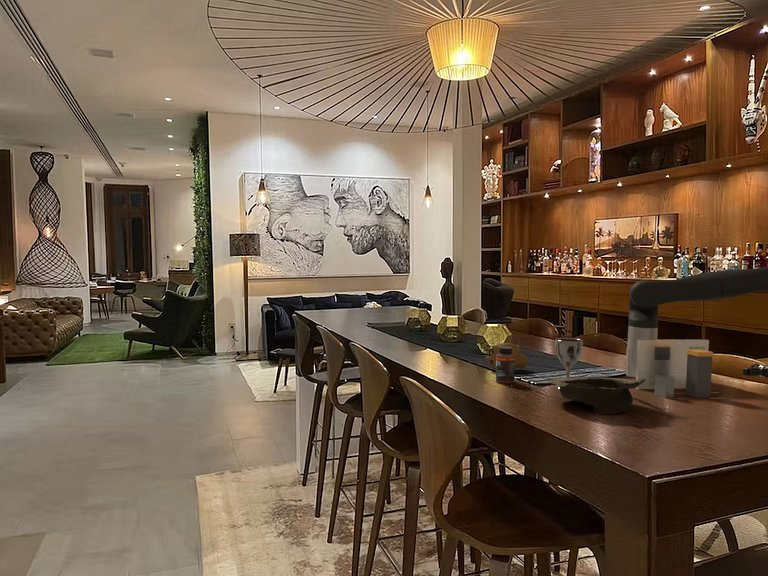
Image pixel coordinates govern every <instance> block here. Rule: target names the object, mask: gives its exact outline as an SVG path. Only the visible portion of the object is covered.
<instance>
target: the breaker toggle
mask: <svg viewBox="0 0 768 576" xmlns="http://www.w3.org/2000/svg"><path fill="white" fill-rule="evenodd" d="M713 357H714V352H713V351H709V350H708V351H706V350H687V374H686V389H685V395H688V396H690V397H693V398H711V394H712V393H711V392H712V371H713V370H712V369H713Z"/></svg>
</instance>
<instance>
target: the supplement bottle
mask: <svg viewBox="0 0 768 576" xmlns="http://www.w3.org/2000/svg"><path fill="white" fill-rule="evenodd" d="M499 351H500V352H499V353H498V354H497V355H496V369H495V382H496V383H498V384H504V385H510V384H514V383H515V379H516V378H515V373H516V368H515V355H514V354H512V347H499Z"/></svg>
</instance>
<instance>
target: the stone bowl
mask: <svg viewBox="0 0 768 576" xmlns="http://www.w3.org/2000/svg"><path fill="white" fill-rule="evenodd" d="M645 381H646V379H642V380H636V379H635V380H633V379H630V378H629V379H627V378H626V379H624V378H618V377H617V378H616V377H603V376H602V377H599V376H593V377H592V376H580V377H577V376H575V377H569V378H566V377H560V378H554V379H548V380H547V382H548V383H550V384H553V385H556V386H557V385H560V389H559V393H560V394H561V396H562V397H563V398H564V399H567V400H570V401H573V402H577V403H584V404H585V405H589V406H592V410H593V412H594V413H595V414H597V415H612V414H618V413H620V412H627V411H629V409H630V408H631V405H632V403H633V402H634V398H633V394H632V393H631V390H630V389H636V388H637V387H638V386H639V385H641V384H642V383H643V382H645Z"/></svg>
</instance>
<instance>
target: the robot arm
mask: <svg viewBox="0 0 768 576" xmlns="http://www.w3.org/2000/svg"><path fill="white" fill-rule="evenodd" d="M763 291H768V265H767V266H762V267H757V268H756V267H755V268H746V269H730V270H729V269H728V270H718V271H710V272H702V273H697V274H693V275H689V276H686V277H685V276H684V277H682V278H681V277H680V278H676V279H669V280H646V279H645V280H644V279H643V280H641V279H640V280H639V281H636V282H635V283H633V284H632V286H631V288H630V290H629V297H628V298H629V300H628V301H629V302H628V329H627V346H626V352H625V353H626V354H625V355H626V358H625V375H626V377H631V378H635V379H636V364H637V342H638V340H658V332H659V331H658V327H659V325H658V324H659V305H664V304H665V305H666V304H669V303H670V304H671V303H675V302H703V301H704V302H705V301H706V302H707V301H708V302H709V301H716V300H717V301H718V300H725V299H731V298H732V299H733V298H736V297H740V296H745V295H749V294H752V293H757V292H763ZM742 375H744V376H747V377H759V378H766V379H768V363H767V364H759V363H753V364H751V365H750V367H743V368H742Z"/></svg>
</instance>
